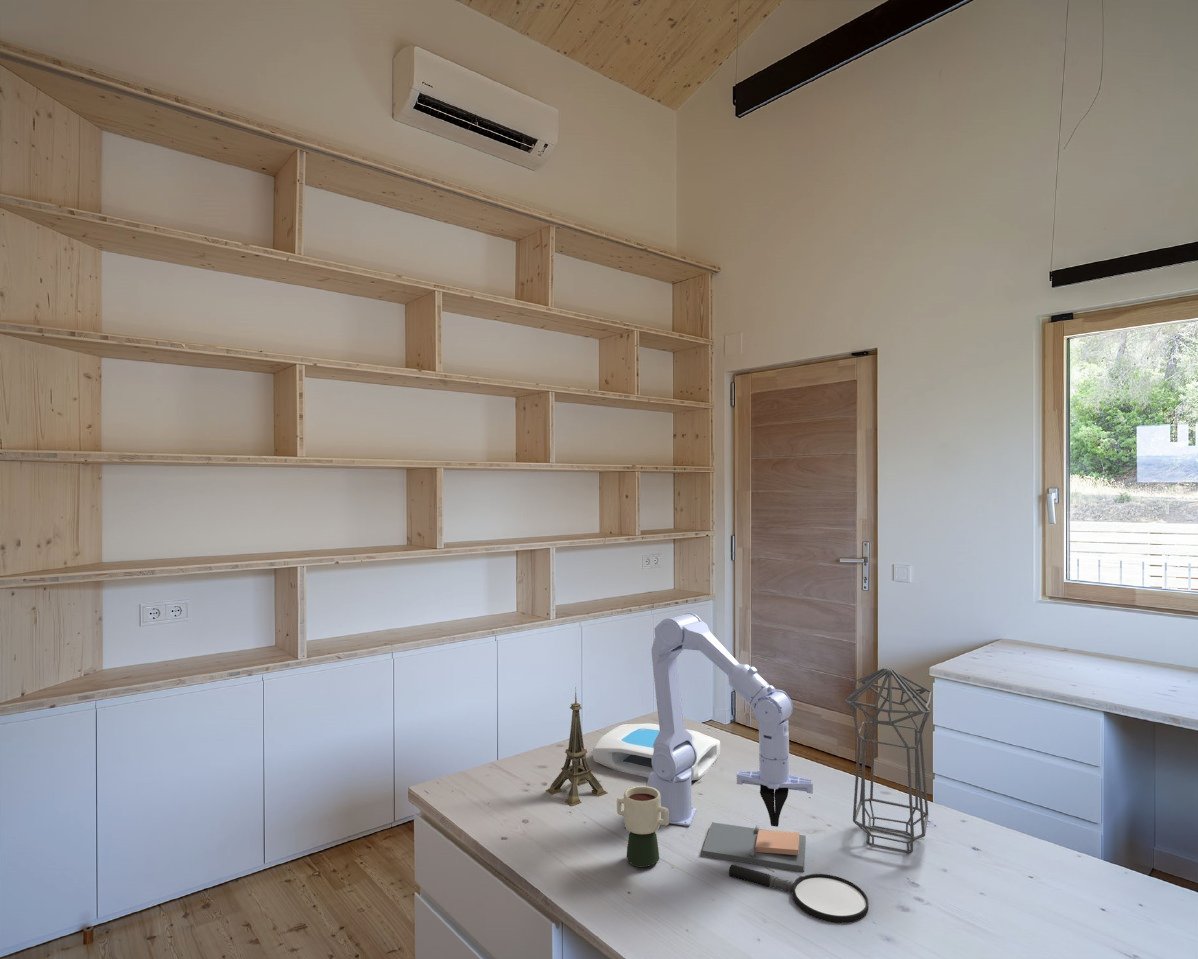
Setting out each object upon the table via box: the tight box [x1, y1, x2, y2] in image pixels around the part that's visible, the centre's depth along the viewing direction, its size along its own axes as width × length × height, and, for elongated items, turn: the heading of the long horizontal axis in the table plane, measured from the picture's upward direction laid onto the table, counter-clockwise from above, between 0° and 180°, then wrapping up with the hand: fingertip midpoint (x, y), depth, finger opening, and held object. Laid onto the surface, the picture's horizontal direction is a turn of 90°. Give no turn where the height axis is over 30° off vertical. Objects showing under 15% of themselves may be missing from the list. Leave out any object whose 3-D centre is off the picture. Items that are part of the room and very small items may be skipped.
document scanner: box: [592, 723, 721, 782], centre depth 180 cm, size 21×28×6 cm
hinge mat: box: [701, 822, 807, 873], centre depth 135 cm, size 19×12×2 cm, turn 71°
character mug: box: [616, 785, 670, 868], centre depth 131 cm, size 11×7×13 cm, turn 62°
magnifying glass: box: [728, 863, 870, 924], centre depth 120 cm, size 12×24×2 cm, turn 61°
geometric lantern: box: [844, 667, 933, 854], centre depth 138 cm, size 16×16×35 cm
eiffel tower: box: [545, 686, 609, 807], centre depth 162 cm, size 11×11×25 cm
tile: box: [755, 829, 801, 855], centre depth 134 cm, size 8×7×1 cm
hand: (774, 823), depth 134 cm, fingers closed
